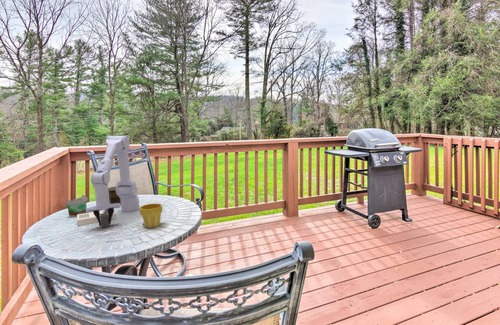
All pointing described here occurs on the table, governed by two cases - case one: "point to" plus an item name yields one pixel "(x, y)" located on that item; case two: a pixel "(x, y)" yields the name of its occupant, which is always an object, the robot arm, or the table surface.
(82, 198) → the food container
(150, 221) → the plant pot
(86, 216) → the power strip
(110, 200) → the ceramic cup
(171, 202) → the table surface
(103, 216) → the dark grey square prism
